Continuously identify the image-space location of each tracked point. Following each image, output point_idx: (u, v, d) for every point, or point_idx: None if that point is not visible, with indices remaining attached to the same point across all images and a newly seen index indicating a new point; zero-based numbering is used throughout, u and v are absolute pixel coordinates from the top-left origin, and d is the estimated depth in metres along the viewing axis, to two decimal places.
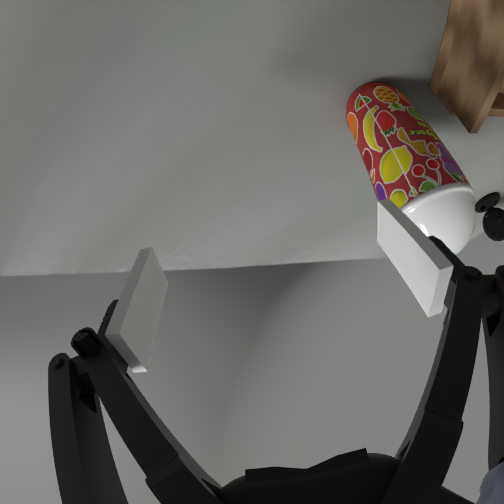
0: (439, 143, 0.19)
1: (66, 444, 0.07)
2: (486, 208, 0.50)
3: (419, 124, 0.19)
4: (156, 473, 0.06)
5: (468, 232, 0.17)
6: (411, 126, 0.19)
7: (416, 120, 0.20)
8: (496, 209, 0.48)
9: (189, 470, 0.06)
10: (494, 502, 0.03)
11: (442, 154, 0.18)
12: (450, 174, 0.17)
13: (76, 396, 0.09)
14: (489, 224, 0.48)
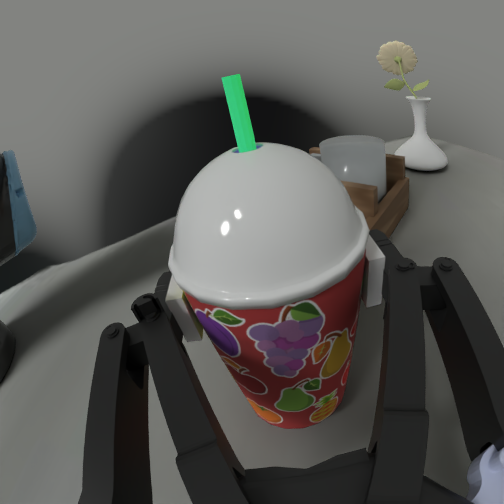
0: None
1: (102, 419, 0.08)
2: None
3: None
4: (189, 454, 0.06)
5: None
6: None
7: None
8: None
9: (223, 458, 0.06)
10: (486, 491, 0.04)
11: None
12: None
13: (124, 370, 0.10)
14: None
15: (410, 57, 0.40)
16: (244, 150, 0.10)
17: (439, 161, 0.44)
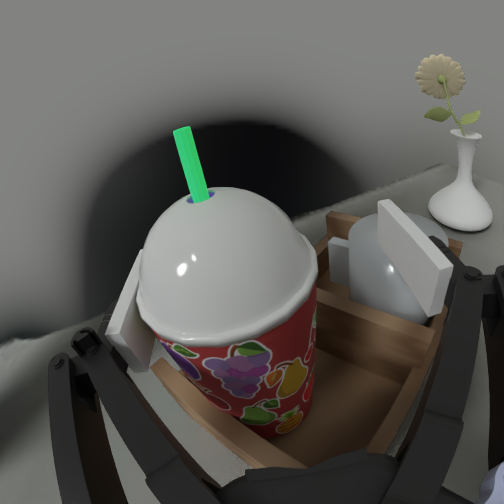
0: None
1: (66, 444, 0.07)
2: None
3: None
4: (156, 473, 0.06)
5: None
6: None
7: None
8: None
9: (189, 470, 0.06)
10: (494, 502, 0.03)
11: None
12: None
13: (76, 396, 0.09)
14: None
15: (458, 78, 0.28)
16: (196, 200, 0.11)
17: (485, 219, 0.32)
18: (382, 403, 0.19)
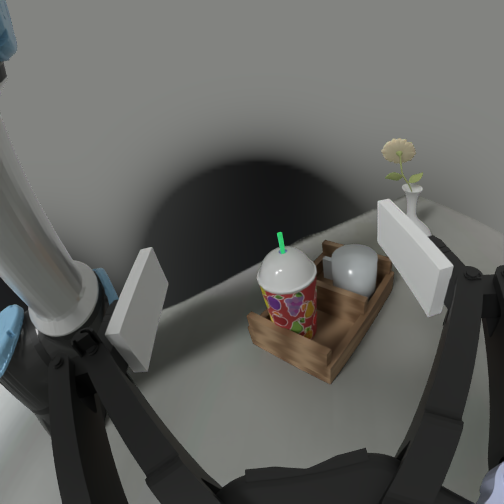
0: None
1: (66, 444, 0.07)
2: None
3: None
4: (156, 473, 0.06)
5: None
6: None
7: None
8: None
9: (189, 470, 0.06)
10: (494, 502, 0.03)
11: None
12: None
13: (76, 396, 0.09)
14: None
15: (410, 151, 0.56)
16: (282, 252, 0.39)
17: None
18: None
